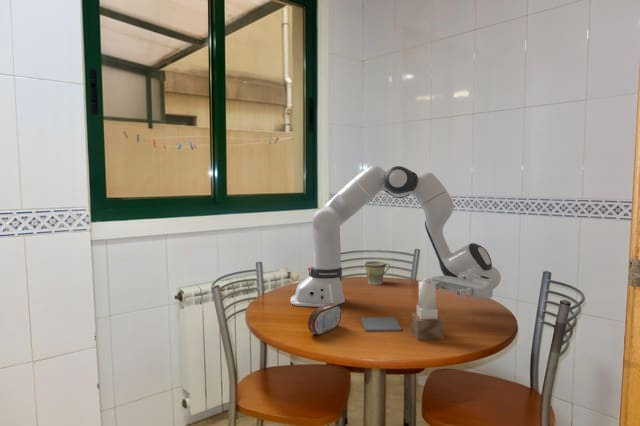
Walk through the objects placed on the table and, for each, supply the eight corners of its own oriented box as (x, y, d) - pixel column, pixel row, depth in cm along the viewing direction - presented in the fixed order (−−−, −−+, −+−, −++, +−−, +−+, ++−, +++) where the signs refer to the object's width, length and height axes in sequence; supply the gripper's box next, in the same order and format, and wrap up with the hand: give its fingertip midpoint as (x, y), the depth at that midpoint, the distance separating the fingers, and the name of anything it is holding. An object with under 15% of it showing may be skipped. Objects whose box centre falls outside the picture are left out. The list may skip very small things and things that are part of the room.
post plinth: (417, 339, 126) (417, 311, 125) (411, 330, 134) (411, 303, 133) (443, 339, 126) (443, 311, 125) (435, 330, 134) (435, 303, 133)
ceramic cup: (369, 286, 193) (369, 265, 192) (361, 281, 203) (361, 261, 202) (394, 284, 197) (394, 263, 196) (385, 279, 206) (385, 260, 206)
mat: (365, 331, 133) (365, 329, 133) (361, 319, 145) (361, 317, 145) (402, 330, 134) (402, 329, 134) (394, 318, 146) (394, 317, 146)
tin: (335, 324, 141) (335, 300, 140) (343, 326, 139) (343, 301, 138) (307, 336, 129) (306, 310, 129) (314, 339, 127) (314, 312, 127)
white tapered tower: (420, 319, 127) (421, 280, 126) (416, 314, 132) (416, 276, 131) (437, 319, 127) (438, 280, 126) (432, 313, 132) (433, 276, 131)
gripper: (444, 270, 152) (421, 275, 144) (497, 279, 136) (474, 286, 128) (444, 286, 153) (420, 292, 144) (496, 298, 137) (473, 306, 128)
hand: (446, 289), depth 136 cm, fingers open, 8 cm apart
